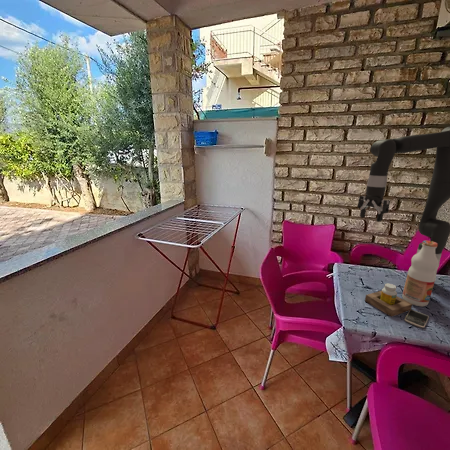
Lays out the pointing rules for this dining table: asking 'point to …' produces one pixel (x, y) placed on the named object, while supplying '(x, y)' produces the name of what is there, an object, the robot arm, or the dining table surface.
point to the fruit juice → (421, 275)
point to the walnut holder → (390, 310)
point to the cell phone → (416, 318)
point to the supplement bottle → (389, 294)
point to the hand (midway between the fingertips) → (370, 219)
